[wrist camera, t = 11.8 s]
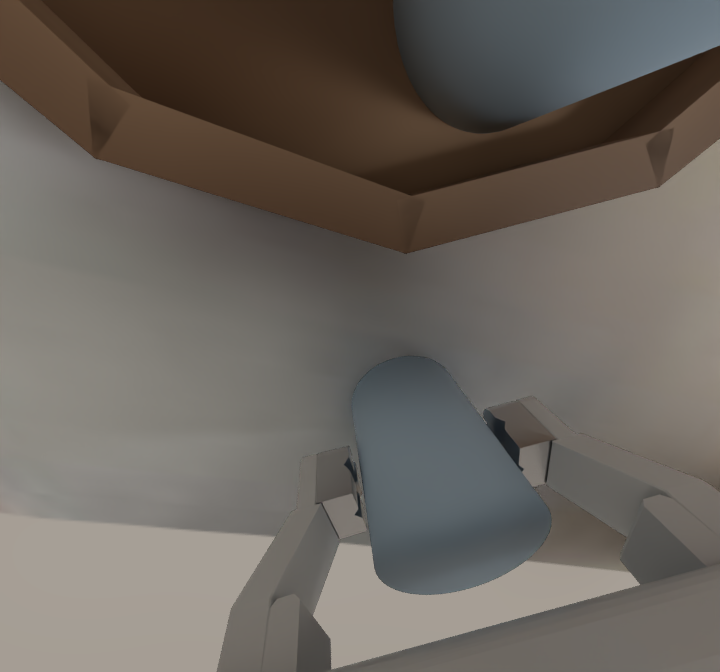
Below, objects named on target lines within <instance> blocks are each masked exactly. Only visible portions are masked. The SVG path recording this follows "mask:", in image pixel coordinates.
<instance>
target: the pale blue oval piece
mask: <svg viewBox="0 0 720 672" xmlns="http://www.w3.org/2000/svg"><path fill="white" fill-rule="evenodd" d="M393 12H394V25H395V31H396V37H397V43H398V48H399V51H400V55H401V58H402V62H403V65H404V67H405V70H406V73H407V75H408V78H409V80H410V82H411V84H412V85H413V87H414V89H415V91H416V93H417V94H418V96H419V97H420V98H421V100H422V101H423V103H424V104H425V105H426V106H427V107H428V108H429V110H430V111H431V112H432V113H433V114H434V115H435V116H437V117H438V118H439V119H441V120H442V121H443V122H445V123H446V124H448V125H450V126H452V127H454V128H456V129H459V130H462V131H465V132H470V133H476V134H486V133H494V132H500V131H503V130H506V129H509V128H512V127H514V126H517V125H519V124H522V123H524V122H527V121H529V120H532V119H535V118H537V117H540V116H542V115H545V114H547V113H550V112H552V111H555V110H557V109H560V108H562V107H565V106H567V105H570V104H573V103H575V102H578V101H580V100H583V99H585V98H588V97H590V96H593V95H595V94H598V93H600V92H603V91H606V90H608V89H611V88H613V87H616V86H618V85H621V84H623V83H626V82H628V81H631V80H633V79H636V78H639V77H641V76H644V75H646V74H649V73H651V72H654V71H656V70H659V69H661V68H664V67H666V66H669V65H672V64H674V63H677V62H679V61H682V60H684V59H687V58H689V57H692V56H694V55H697V54H699V53H702V52H705V51H707V50H710V49H712V48H715V47H717V46H720V0H393Z"/></svg>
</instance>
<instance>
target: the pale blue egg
mask: <svg viewBox="0 0 720 672" xmlns="http://www.w3.org/2000/svg"><path fill="white" fill-rule="evenodd" d="M352 413H353V420H354V427H355V434H356V441H357V448H358V455H359V462H360V469H361V476H362V483H363V490H364V497H365V504H366V511H367V519H368V526H369V533H370V540H371V547H372V553H373V561H374V567H375V571H376V574H377V575H378V577H379V579H380V580H381V581H382V582H383V583H384V584H386V585H387V586H389V587H391V588H393V589H395V590H398V591H401V592H405V593H410V594H419V595H432V594H444V593H451V592H456V591H461V590H465V589H469V588H472V587H476V586H479V585H481V584H484V583H487V582H489V581H491V580H494V579H496V578H498V577H500V576H502V575H504V574H506V573H508V572H509V571H511V570H513V569H515V568H516V567H518V566H519V565H521V564H522V563H523V562H525V561H526V560H527V559H528V558H530V557H531V556H532V555H533V554H534V553H535V552H536V551H537V550H538V549H539V548H540V546H541V545H542V544H543V542H544V541H545V539H546V538H547V536H548V534H549V532H550V528H551V521H552V518H551V513H550V511H549V509H548V507H547V506H546V504H545V503H544V502H543V500H542V499H541V497H540V496H539V495H538V493H537V492H536V491H535V489H534V488H533V487H532V485H531V484H530V483H529V481H528V480H527V479H526V477H525V476H524V474H523V473H522V472H521V470H520V469H519V468H518V466H517V465H516V464H515V462H514V461H513V460H512V458H511V457H510V456H509V454H508V453H507V451H506V450H505V449H504V447H503V446H502V445H501V443H500V442H499V441H498V439H497V438H496V437H495V435H494V434H493V433H492V431H491V430H490V428H489V427H488V426H487V424H486V423H485V422H484V420H483V419H482V418H481V416H480V415H479V414H478V412H477V411H476V410H475V408H474V407H473V405H472V404H471V403H470V401H469V400H468V399H467V397H466V396H465V395H464V393H463V392H462V391H461V389H460V388H459V387H458V385H457V384H456V383H455V381H454V380H453V378H452V377H451V376H450V374H449V373H448V372H447V371H446V369H445V368H444V367H443V366H441V365H440V364H439V363H437V362H435V361H433V360H431V359H428V358H424V357H419V356H404V357H398V358H394V359H391V360H388V361H385V362H383V363H381V364H379V365H378V366H376V367H374V368H373V369H372V370H370V371H369V372H368V373H367V374H366V375H365V376H364V377H363V378H362V379H361V381H360V382H359V383H358V385H357V387H356V389H355V391H354V394H353V397H352Z"/></svg>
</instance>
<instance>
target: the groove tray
mask: <svg viewBox="0 0 720 672" xmlns="http://www.w3.org/2000/svg"><path fill="white" fill-rule="evenodd" d="M0 80H1V81H2V82H3V83H5V84H6V85H7V86H8V87H9V88H11V89H12V90H13V91H14V92H16V93H17V94H18V95H19V96H20V97H22V98H23V99H24V100H25V101H26V102H28V103H29V104H30V105H31V106H33V107H34V108H35V109H36V110H37V111H39V112H40V113H41V114H42V115H43V116H45V117H46V118H47V119H48V120H50V121H51V122H52V123H53V124H54V125H56V126H57V127H58V128H59V129H60V130H62V131H63V132H64V133H65V134H67V135H68V136H69V137H70V138H71V139H73V140H74V141H75V142H76V143H77V144H79V145H80V146H81V147H82V148H83V149H85V150H86V151H87V152H88V153H90V154H91V155H92V156H93V157H94V158H96V159H99V160H104V161H107V162H110V163H113V164H117V165H120V166H123V167H126V168H130V169H133V170H136V171H139V172H143V173H146V174H149V175H152V176H156V177H159V178H162V179H165V180H169V181H172V182H175V183H178V184H182V185H185V186H188V187H191V188H195V189H198V190H201V191H204V192H208V193H211V194H214V195H217V196H221V197H224V198H227V199H230V200H234V201H237V202H240V203H243V204H247V205H250V206H253V207H256V208H260V209H263V210H266V211H269V212H273V213H276V214H279V215H282V216H286V217H289V218H292V219H295V220H299V221H302V222H305V223H308V224H312V225H315V226H318V227H321V228H325V229H328V230H331V231H334V232H338V233H341V234H344V235H347V236H351V237H354V238H357V239H360V240H364V241H367V242H370V243H373V244H377V245H380V246H383V247H386V248H390V249H393V250H396V251H399V252H403V253H404V254H407V253H410V252H414V251H418V250H421V249H425V248H429V247H433V246H437V245H440V244H444V243H448V242H452V241H456V240H459V239H463V238H467V237H471V236H475V235H478V234H482V233H486V232H490V231H494V230H497V229H501V228H505V227H509V226H513V225H516V224H520V223H524V222H528V221H532V220H535V219H539V218H543V217H547V216H551V215H554V214H558V213H562V212H566V211H570V210H574V209H577V208H581V207H585V206H589V205H593V204H596V203H600V202H604V201H608V200H612V199H615V198H619V197H623V196H627V195H631V194H634V193H638V192H642V191H646V190H650V189H653V188H658V187H660V186H661V185H662V184H663V183H665V182H666V181H667V180H668V179H670V178H671V177H672V176H673V175H675V174H676V173H677V172H678V171H680V170H681V169H682V168H683V167H685V166H686V165H687V164H688V163H690V162H691V161H692V160H693V159H695V158H696V157H697V156H698V155H700V154H701V153H702V152H703V151H705V150H706V149H707V148H708V147H710V146H711V145H712V144H713V143H715V142H716V141H717V140H718V139H720V46H717V47H715V48H712V49H710V50H707V51H705V52H702V53H699V54H697V55H694V56H692V57H689V58H687V59H684V60H682V61H679V62H677V63H674V64H672V65H669V66H666V67H664V68H661V69H659V70H656V71H654V72H651V73H649V74H646V75H644V76H641V77H639V78H636V79H633V80H631V81H628V82H626V83H623V84H621V85H618V86H616V87H613V88H611V89H608V90H606V91H603V92H600V93H598V94H595V95H593V96H590V97H588V98H585V99H583V100H580V101H578V102H575V103H573V104H570V105H567V106H565V107H562V108H560V109H557V110H555V111H552V112H550V113H547V114H545V115H542V116H540V117H537V118H535V119H532V120H529V121H527V122H524V123H522V124H519V125H517V126H514V127H512V128H509V129H506V130H503V131H500V132H494V133H486V134H476V133H470V132H465V131H462V130H459V129H456V128H454V127H452V126H450V125H448V124H446V123H445V122H443V121H442V120H441V119H439V118H438V117H437V116H435V115H434V114H433V113H432V112H431V111H430V110H429V108H428V107H427V106H426V105H425V104H424V103H423V101H422V100H421V98H420V97H419V96H418V94H417V93H416V91H415V89H414V87H413V85H412V84H411V82H410V80H409V78H408V75H407V73H406V70H405V67H404V65H403V62H402V58H401V55H400V51H399V48H398V43H397V37H396V31H395V25H394V12H393V0H0Z"/></svg>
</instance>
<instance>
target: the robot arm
mask: <svg viewBox="0 0 720 672" xmlns="http://www.w3.org/2000/svg"><path fill="white" fill-rule="evenodd" d="M483 414H484V419H485V421H486V422H487V426H488V427H489V428H490V430H491V431H492V433H493V434H494V435H495V437H496V438H497V439H498V441H499V442H500V443H501V445H502V446H503V447H504V449H505V450H506V451H507V453H508V454H509V456H510V457H511V458H512V460H513V461H514V462H515V464H516V465H517V466H518V468H519V469H520V470H521V472H522V473H523V474H524V476H525V477H526V479H527V480H528V481H529V483H530V484H531V485H532V487H534V486H538V485H542V484H546V485H547V486H548V487H550V488H551V489H553V490H554V491H556V492H557V493H559V494H561V495H562V496H564V497H565V498H567V499H568V500H570V501H571V502H573V503H574V504H576V505H578V506H579V507H581V508H582V509H584V510H585V511H587V512H588V513H590V514H591V515H593V516H595V517H596V518H598V519H599V520H601V521H602V522H604V523H605V524H607V525H608V526H610V527H612V528H613V529H615V530H616V531H618V532H619V533H621V534H622V535H624V536H625V537H627V539H626V541H625V543H624V546H623V548H622V550H621V554H620V560H621V561H622V563H623V564H624V565H625V566H626V567H627V569H628V570H629V571H630V572H631V574H632V575H633V576H634V577H635V578H636V580H637V581H638V582H639V583H640V585H639V586H635V587H632V588H629V589H624V590H621V591H617V592H614V593H610V594H606V595H603V596H599V597H596V598H592V599H588V600H584V601H581V602H577V603H574V604H570V605H566V606H563V607H559V608H555V609H552V610H548V611H544V612H541V613H537V614H533V615H530V616H526V617H522V618H519V619H515V620H512V621H508V622H504V623H500V624H497V625H493V626H490V627H486V628H482V629H478V630H475V631H471V632H468V633H464V634H461V635H457V636H453V637H450V638H446V639H442V640H438V641H435V642H431V643H427V644H424V645H420V646H417V647H413V648H409V649H405V650H402V651H398V652H395V653H391V654H387V655H384V656H380V657H376V658H373V659H369V660H366V661H362V662H358V663H354V664H351V665H347V666H343V667H340V668H336V669H332V670H331V644H330V643H331V642H330V638H329V637H328V635H327V634H326V633H325V632H324V630H323V629H322V628H321V626H320V625H319V624H318V622H317V621H316V620H315V619H314V617H313V613H314V610H315V608H316V605H317V602H318V600H319V597H320V594H321V592H322V589H323V586H324V583H325V580H326V578H327V575H328V572H329V570H330V567H331V564H332V561H333V559H334V556H335V553H336V550H337V547H338V545H339V543H340V541H339V539H342V538H346V537H349V536H352V535H356V534H359V533H362V532H365V531H367V525H366V517H365V510H364V506H363V503H362V500H361V495H362V488H361V482H360V477H359V473H358V469H357V466H356V463H355V462H354V461H353V457H352V452H351V449H350V447H349V446H346V447H342V448H338V449H333V450H329V451H325V452H321V453H318V454H314V455H309V456H305V457H303V458H302V460H301V464H300V475H299V487H298V498H297V510H294V511H291V513H290V514H289V516H288V518H287V519H286V521H285V523H284V524H283V526H282V527H281V529H280V531H279V532H278V534H277V535H276V537H275V539H274V540H273V542H272V544H271V545H270V547H269V548H268V550H267V552H266V553H265V555H264V556H263V558H262V560H261V561H260V563H259V565H258V566H257V568H256V570H255V571H254V573H253V574H252V576H251V577H250V579H249V581H248V582H247V584H246V586H245V587H244V589H243V590H242V592H241V594H240V595H239V597H238V598H237V600H236V602H235V603H234V605H233V606H232V608H231V612H230V616H229V620H228V625H227V629H226V633H225V638H224V642H223V646H222V651H221V655H220V659H219V664H218V668H217V672H720V492H719V491H718V490H717V489H715V488H714V487H712V486H711V485H710V484H708V483H707V482H706V481H704V480H701V479H698V478H696V477H693V476H691V475H688V474H686V473H683V472H680V471H678V470H675V469H673V468H670V467H667V466H665V465H662V464H660V463H657V462H655V461H652V460H649V459H647V458H644V457H642V456H639V455H636V454H634V453H631V452H629V451H626V450H623V449H621V448H618V447H616V446H613V445H611V444H608V443H605V442H603V441H600V440H598V439H595V438H592V437H590V436H587V435H585V434H582V433H580V434H575V433H574V432H573V431H572V430H571V429H570V428H568V427H567V426H566V425H565V424H564V423H563V422H562V421H561V420H560V419H558V418H557V417H556V416H555V415H554V414H553V413H552V412H551V411H550V410H548V409H547V408H546V407H545V406H544V405H543V404H542V403H541V402H540V401H539V400H537V399H536V398H535V397H532V396H530V397H526V398H522V399H519V400H516V401H511V402H507V403H504V404H500V405H497V406H493V407H490V408H486V409H485V410H484V412H483Z"/></svg>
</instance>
